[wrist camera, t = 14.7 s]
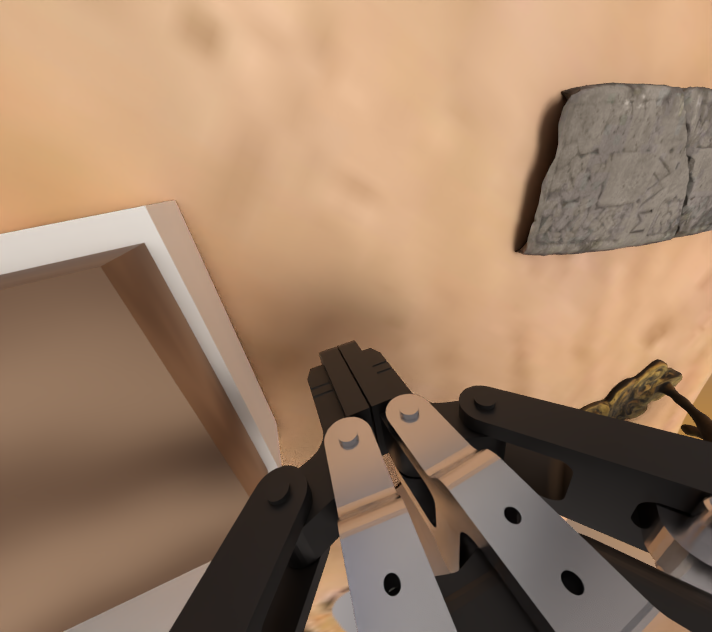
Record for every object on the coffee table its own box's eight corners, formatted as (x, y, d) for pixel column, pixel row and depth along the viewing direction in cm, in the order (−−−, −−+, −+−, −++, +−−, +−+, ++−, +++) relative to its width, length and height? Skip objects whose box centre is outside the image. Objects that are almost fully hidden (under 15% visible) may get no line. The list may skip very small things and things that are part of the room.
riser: (276, 423, 18) (282, 477, 15) (-64, 556, 14) (-161, 671, 11) (175, 199, 12) (144, 205, 8) (-510, 334, 8) (-1108, 451, 4)
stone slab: (765, 232, 27) (546, 272, 17) (716, 228, 29) (503, 261, 20) (841, 100, 22) (604, 53, 13) (775, 110, 25) (539, 78, 15)
